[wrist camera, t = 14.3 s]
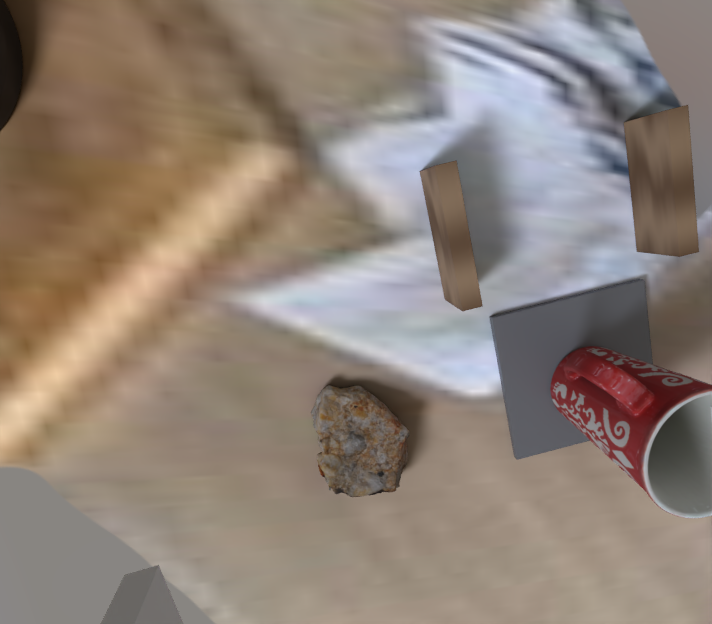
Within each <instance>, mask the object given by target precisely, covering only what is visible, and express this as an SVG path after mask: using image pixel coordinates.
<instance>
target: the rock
mask: <svg viewBox="0 0 712 624" xmlns="http://www.w3.org/2000/svg"><path fill="white" fill-rule="evenodd" d="M311 414H312V416H313V419H314V424H313V425H314V428H315V429H316V431H317V433H318V435H319V437H318V444H319V446H320V447H321V449H322V452H321V453H319V454H318V456H317V461H318V467H319V471H320V473H321V475H322V476H323V477H325V480H326V482H327V484H328V485H329V490H330V489H331V488H332V489H333V491H334V492H335V494H338V493H340V492H342V493H346V494H347V495H349V496H350V497H360V496H366V495H373V494H376V493H382V492H393V491H395V490H396V488H398V487H399V486H400V485H399V481H400V478H401V474H402V471H403V469H404V467H405V466H406V464H407V461H408V451H407V444H406V439H407V438H408V436H409V430H408V429H407V428H406V427H405V426H404V425H402V424H401V423H400V422H399V420H398V418H397V416H395V415H393V414H392V413H391V411H390V410H389V409H388V407H387V406H386V405H385V404H384V403H382V402H381V401H380V400H378V399H377V398H376V397H375V396H374V395H372V394H371V393H369V392H368V391H366V390H365V389H364V388H362V387H361V386H351V387H348V388H338V387H333V386H330V385H328V386H327V387H325V388H324V389H323V390H322V391H321V392H320V394H319V395H318V397H317V399H316V403H315V406H314V408H313V410H312V411H311Z"/></svg>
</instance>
